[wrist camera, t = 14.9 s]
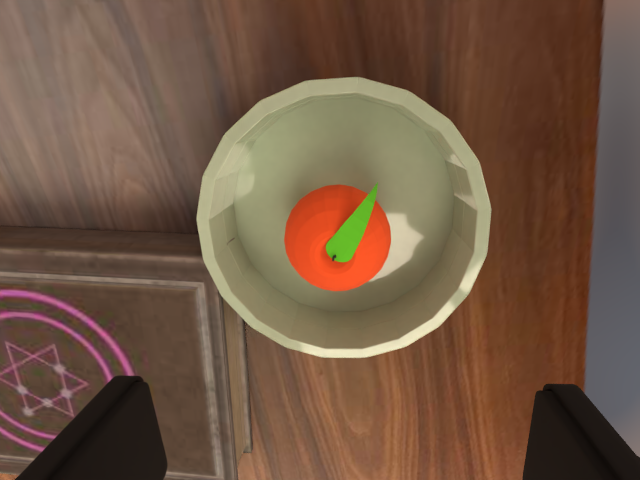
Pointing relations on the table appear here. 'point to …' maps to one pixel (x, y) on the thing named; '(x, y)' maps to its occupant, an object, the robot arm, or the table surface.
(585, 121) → the table surface
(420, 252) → the bowl
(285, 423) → the table surface
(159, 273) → the book
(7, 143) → the table surface
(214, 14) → the table surface
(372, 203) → the clementine
